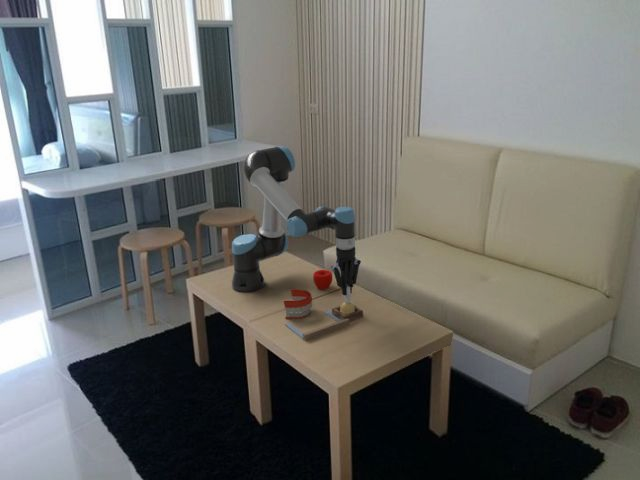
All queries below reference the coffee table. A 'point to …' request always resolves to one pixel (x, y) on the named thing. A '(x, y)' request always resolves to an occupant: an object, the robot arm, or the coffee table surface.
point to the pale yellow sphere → (347, 308)
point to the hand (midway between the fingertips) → (347, 301)
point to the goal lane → (321, 330)
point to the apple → (322, 279)
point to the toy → (298, 304)
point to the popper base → (351, 316)
